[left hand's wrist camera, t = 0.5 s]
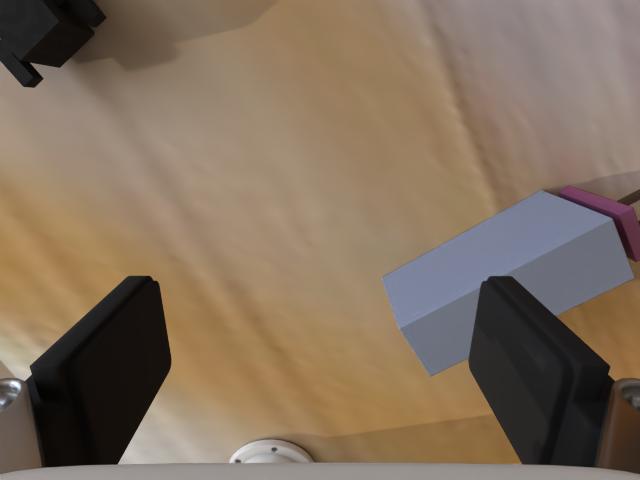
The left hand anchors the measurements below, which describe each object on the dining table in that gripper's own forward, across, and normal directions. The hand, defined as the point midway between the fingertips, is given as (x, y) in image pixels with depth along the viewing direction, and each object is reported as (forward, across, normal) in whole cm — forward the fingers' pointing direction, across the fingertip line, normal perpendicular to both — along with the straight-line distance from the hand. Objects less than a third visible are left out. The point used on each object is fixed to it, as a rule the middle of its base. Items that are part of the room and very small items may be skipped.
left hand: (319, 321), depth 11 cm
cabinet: (+30, +17, -11) cm, 36 cm away
